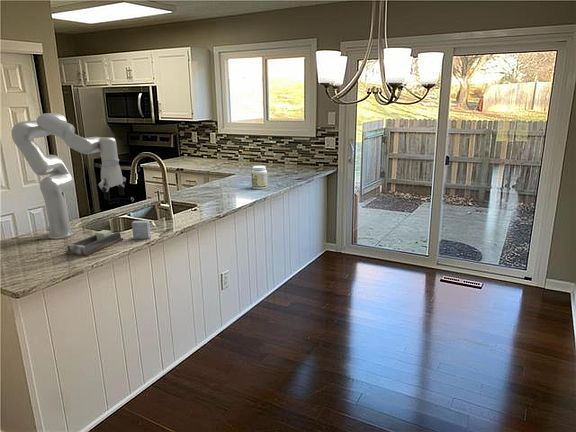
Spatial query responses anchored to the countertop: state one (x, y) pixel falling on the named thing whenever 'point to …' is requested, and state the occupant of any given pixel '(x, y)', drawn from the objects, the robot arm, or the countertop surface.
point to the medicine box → (141, 230)
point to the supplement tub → (259, 177)
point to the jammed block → (103, 234)
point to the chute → (93, 244)
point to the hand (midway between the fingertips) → (114, 197)
